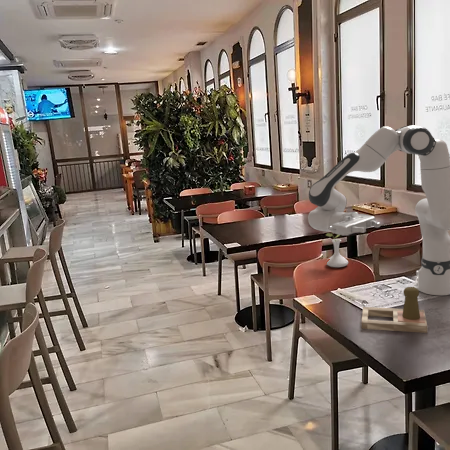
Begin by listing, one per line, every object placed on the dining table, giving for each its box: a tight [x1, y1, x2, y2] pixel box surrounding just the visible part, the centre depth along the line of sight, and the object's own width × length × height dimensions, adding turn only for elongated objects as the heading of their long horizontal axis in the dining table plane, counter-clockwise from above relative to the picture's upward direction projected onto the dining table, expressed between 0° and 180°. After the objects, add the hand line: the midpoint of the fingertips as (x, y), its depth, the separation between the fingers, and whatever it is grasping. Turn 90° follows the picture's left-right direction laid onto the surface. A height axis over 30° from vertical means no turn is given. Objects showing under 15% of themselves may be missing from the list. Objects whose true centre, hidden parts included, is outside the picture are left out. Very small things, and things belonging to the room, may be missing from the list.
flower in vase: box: [325, 232, 349, 268], centre depth 234 cm, size 13×11×25 cm
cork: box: [402, 286, 420, 320], centre depth 164 cm, size 6×6×11 cm
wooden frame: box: [361, 306, 428, 334], centre depth 168 cm, size 14×22×3 cm, turn 71°
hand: (372, 227), depth 172 cm, fingers open, 8 cm apart
